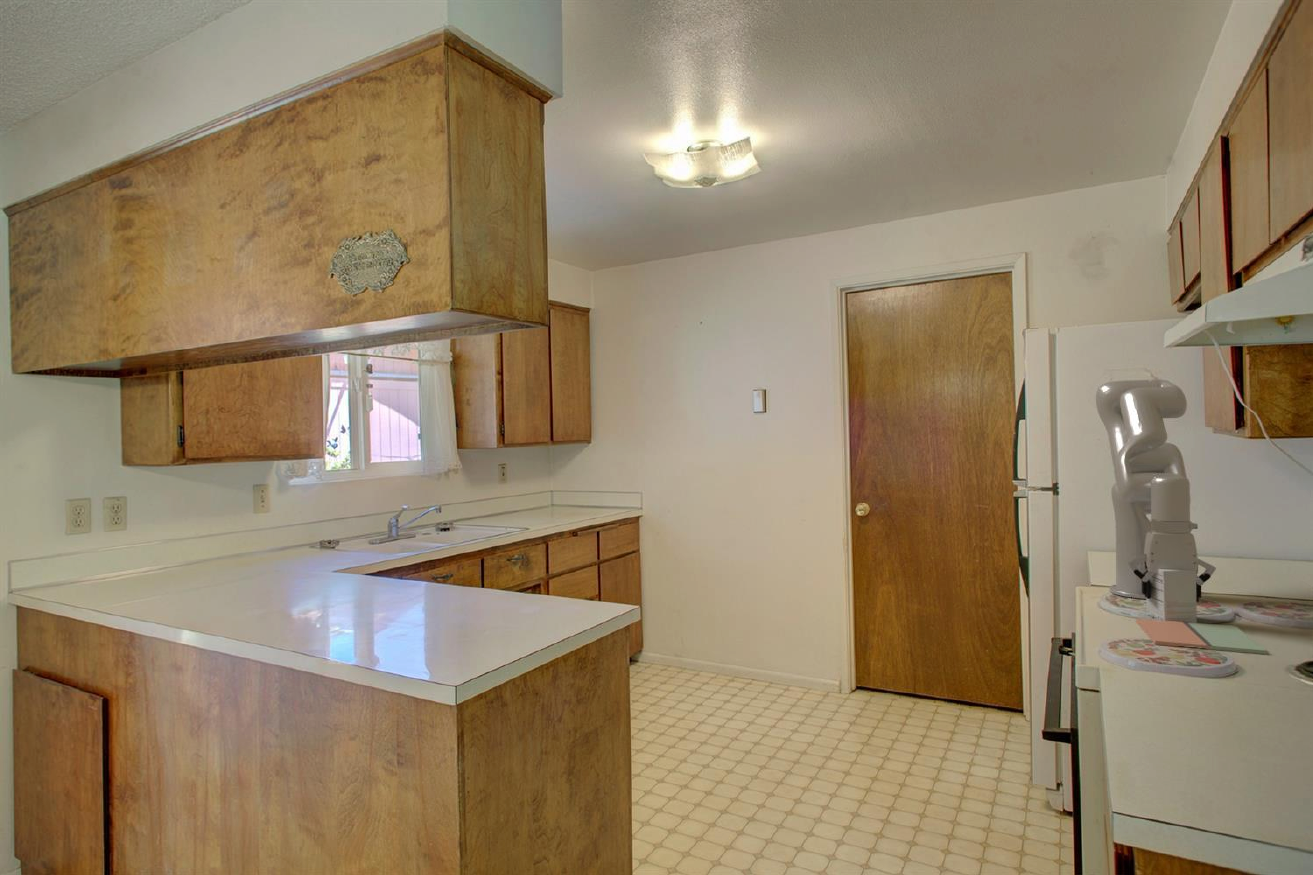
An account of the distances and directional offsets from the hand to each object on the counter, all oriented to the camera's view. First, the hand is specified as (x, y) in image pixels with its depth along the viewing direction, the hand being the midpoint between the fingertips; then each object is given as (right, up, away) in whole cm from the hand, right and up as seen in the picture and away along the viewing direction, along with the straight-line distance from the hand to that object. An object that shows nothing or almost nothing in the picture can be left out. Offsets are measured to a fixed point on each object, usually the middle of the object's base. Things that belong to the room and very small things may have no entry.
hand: (1171, 598), depth 167 cm
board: (-4, -5, -13) cm, 15 cm away
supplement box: (0, -5, 0) cm, 5 cm away
